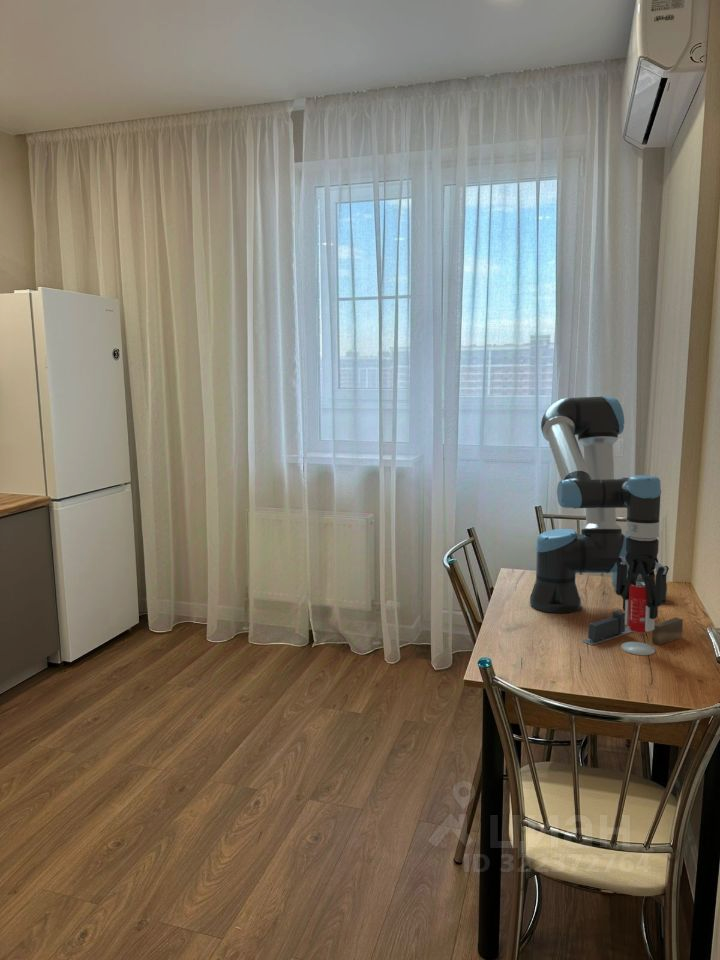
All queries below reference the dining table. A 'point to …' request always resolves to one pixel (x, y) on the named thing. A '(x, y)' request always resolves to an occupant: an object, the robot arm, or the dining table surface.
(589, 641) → the rail
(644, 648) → the coaster
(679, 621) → the block
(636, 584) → the beverage can
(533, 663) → the dining table surface
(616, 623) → the dark grey block
